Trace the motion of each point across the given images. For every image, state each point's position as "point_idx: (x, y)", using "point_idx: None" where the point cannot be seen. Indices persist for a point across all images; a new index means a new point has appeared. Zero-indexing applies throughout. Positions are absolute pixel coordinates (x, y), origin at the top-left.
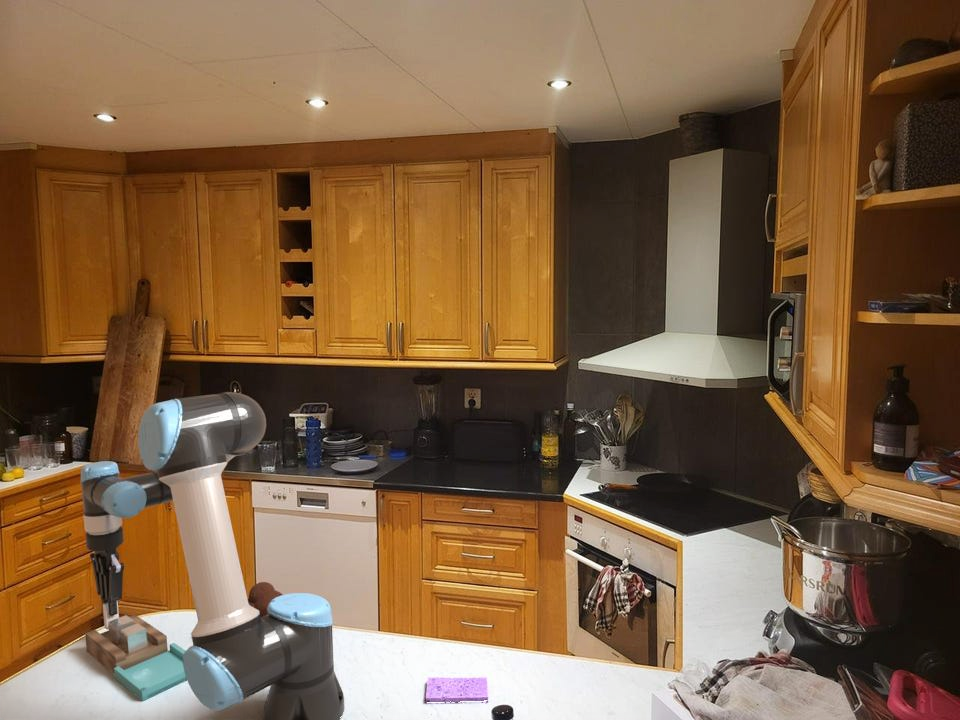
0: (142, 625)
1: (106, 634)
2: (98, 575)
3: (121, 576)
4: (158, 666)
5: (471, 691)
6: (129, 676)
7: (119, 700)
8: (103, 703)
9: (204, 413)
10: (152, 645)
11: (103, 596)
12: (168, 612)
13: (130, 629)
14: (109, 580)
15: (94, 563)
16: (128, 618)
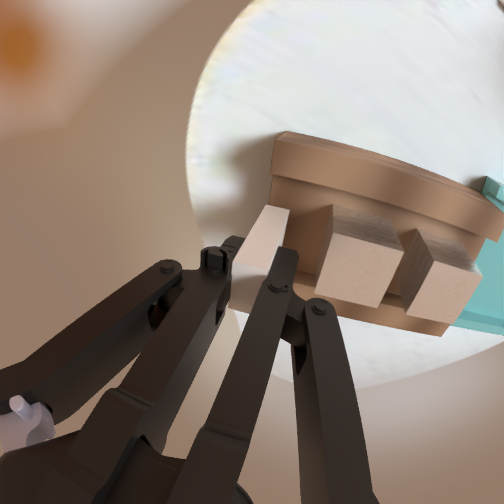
0: (391, 191)
1: (284, 243)
2: (117, 366)
3: (362, 458)
4: (499, 256)
5: None
6: (479, 325)
7: (475, 337)
8: (454, 350)
9: None
10: (473, 236)
11: (221, 318)
12: (255, 2)
13: (438, 298)
14: (301, 456)
15: (67, 416)
16: (368, 248)
